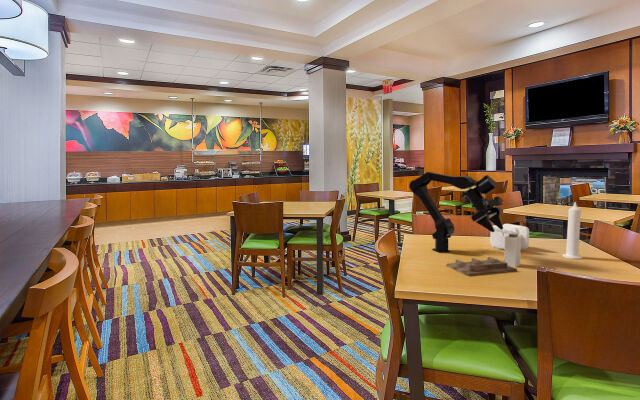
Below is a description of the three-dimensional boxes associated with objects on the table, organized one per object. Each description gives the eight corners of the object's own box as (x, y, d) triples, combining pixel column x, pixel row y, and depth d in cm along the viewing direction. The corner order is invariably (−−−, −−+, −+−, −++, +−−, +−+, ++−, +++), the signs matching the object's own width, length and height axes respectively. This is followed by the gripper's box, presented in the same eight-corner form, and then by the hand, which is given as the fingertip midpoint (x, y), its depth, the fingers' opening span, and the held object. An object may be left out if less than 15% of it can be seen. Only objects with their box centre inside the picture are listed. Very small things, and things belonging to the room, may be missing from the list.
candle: (579, 256, 166) (583, 201, 163) (583, 259, 159) (586, 203, 157) (561, 254, 169) (564, 200, 166) (564, 258, 162) (567, 202, 160)
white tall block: (504, 264, 153) (505, 234, 151) (508, 262, 156) (510, 232, 154) (515, 267, 149) (516, 235, 148) (519, 265, 152) (521, 234, 151)
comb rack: (446, 266, 151) (446, 259, 151) (491, 262, 157) (491, 255, 157) (468, 275, 138) (468, 268, 138) (516, 271, 143) (517, 263, 143)
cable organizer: (530, 251, 176) (531, 227, 175) (515, 253, 171) (516, 229, 170) (503, 245, 189) (504, 223, 188) (488, 247, 185) (489, 224, 184)
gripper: (483, 191, 151) (505, 223, 146) (501, 189, 164) (522, 218, 158) (462, 205, 159) (482, 236, 153) (480, 202, 171) (500, 231, 166)
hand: (498, 230), depth 157 cm, fingers open, 9 cm apart
